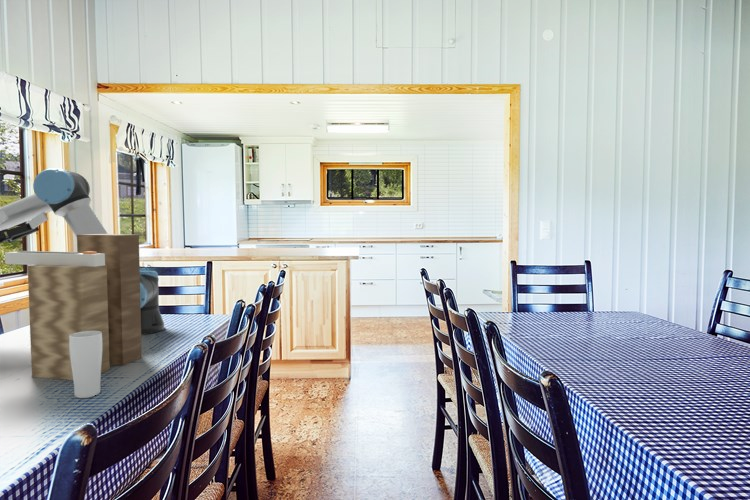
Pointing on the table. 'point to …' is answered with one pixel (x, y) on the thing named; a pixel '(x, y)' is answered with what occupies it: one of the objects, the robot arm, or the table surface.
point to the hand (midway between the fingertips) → (26, 215)
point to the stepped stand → (86, 306)
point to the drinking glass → (86, 362)
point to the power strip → (55, 258)
